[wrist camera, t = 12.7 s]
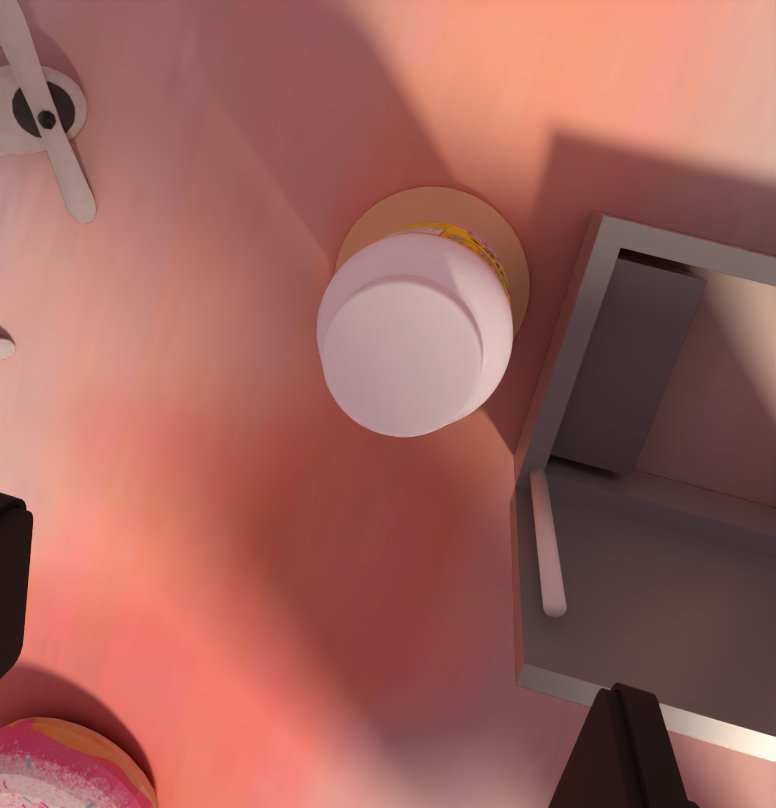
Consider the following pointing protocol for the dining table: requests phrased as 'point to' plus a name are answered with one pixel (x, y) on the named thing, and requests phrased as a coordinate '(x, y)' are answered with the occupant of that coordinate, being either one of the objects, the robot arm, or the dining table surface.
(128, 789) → the donut
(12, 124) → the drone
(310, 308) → the dining table surface
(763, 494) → the dining table surface
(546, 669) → the case
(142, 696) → the dining table surface
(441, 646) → the dining table surface
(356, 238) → the pad
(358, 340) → the supplement bottle
